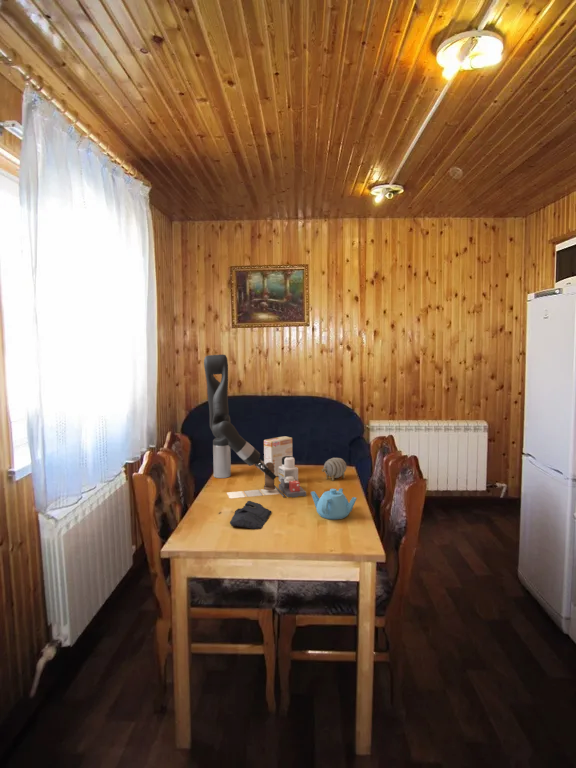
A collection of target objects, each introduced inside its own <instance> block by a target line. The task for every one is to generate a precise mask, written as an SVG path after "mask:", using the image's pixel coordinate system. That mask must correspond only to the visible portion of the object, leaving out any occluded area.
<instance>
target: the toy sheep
mask: <svg viewBox="0 0 576 768" xmlns="http://www.w3.org/2000/svg"><path fill="white" fill-rule="evenodd" d="M347 467H348V465H347V462H346V461H345V460H344V459H343V458H341V457H332V458H329V459H327V460H326V461H325V462H324V465H323V468H322V469H321V471H322V472H324V473H325V474H326V475H325V479H326V480H329V479H330V478H331V481H332V482H334V481H335V479H340V477H341V478H342V479H345V477H346V476H345V472H346V470H347Z"/></svg>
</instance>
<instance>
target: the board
mask: <svg viewBox="0 0 576 768" xmlns="http://www.w3.org/2000/svg"><path fill="white" fill-rule="evenodd" d="M226 494H227V496H228V498H229V499H239V498H246V497H247V498H250V497H252V498H253V497H262V496H271V495H272V496H273V495H281V497H283V498H285V495H284V493H283V492H282V491H281V490H280V489H279V487H277V486H276V485H275V489H274V490H265V489H264V488H261V489H252V490H251V489H250V490H243V491H242V490H240V491H230V492H226Z"/></svg>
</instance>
